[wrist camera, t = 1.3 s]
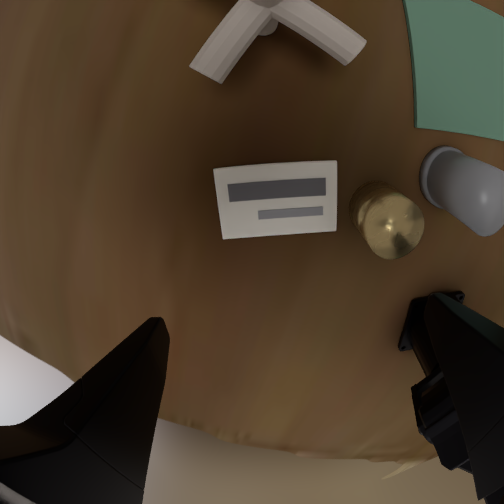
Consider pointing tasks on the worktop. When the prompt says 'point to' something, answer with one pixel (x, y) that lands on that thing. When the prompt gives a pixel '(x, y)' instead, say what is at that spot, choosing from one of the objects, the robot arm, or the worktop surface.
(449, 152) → the cylinder
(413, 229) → the brass fitting
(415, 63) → the mat
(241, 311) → the worktop surface
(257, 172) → the label tile
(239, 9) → the pipe connector
